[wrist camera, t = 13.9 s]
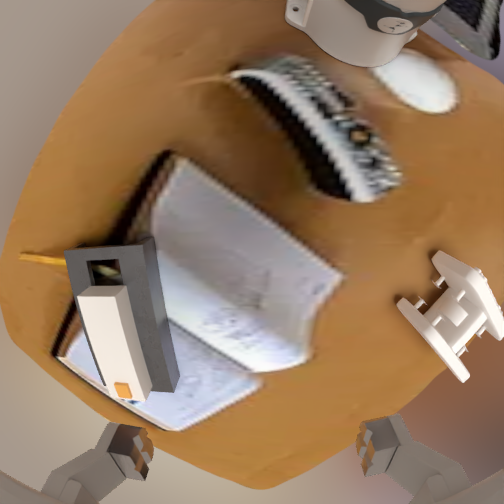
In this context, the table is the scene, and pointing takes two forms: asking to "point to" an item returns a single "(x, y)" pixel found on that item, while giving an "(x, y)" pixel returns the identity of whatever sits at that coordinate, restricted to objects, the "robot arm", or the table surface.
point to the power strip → (115, 341)
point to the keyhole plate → (133, 302)
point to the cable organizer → (456, 312)
